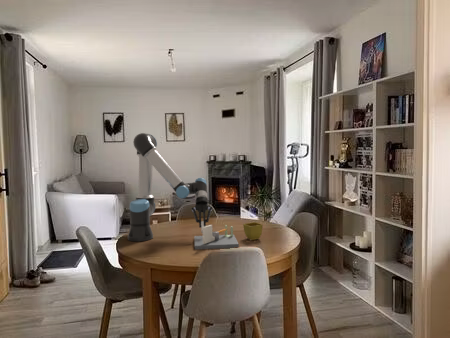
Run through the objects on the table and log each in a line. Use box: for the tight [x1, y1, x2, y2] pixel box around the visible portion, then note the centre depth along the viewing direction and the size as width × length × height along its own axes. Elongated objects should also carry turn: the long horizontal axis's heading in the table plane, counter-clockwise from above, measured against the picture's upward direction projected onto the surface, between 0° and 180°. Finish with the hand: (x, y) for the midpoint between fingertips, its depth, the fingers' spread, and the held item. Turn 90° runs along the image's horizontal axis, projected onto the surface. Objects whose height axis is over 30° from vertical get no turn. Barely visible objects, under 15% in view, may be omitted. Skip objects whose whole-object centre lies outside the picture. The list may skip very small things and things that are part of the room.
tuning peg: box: [202, 224, 228, 244], centre depth 205 cm, size 22×4×9 cm, turn 146°
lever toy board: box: [193, 224, 240, 250], centre depth 206 cm, size 24×22×8 cm
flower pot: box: [242, 221, 263, 241], centre depth 215 cm, size 9×9×9 cm
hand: (202, 231), depth 210 cm, fingers closed
